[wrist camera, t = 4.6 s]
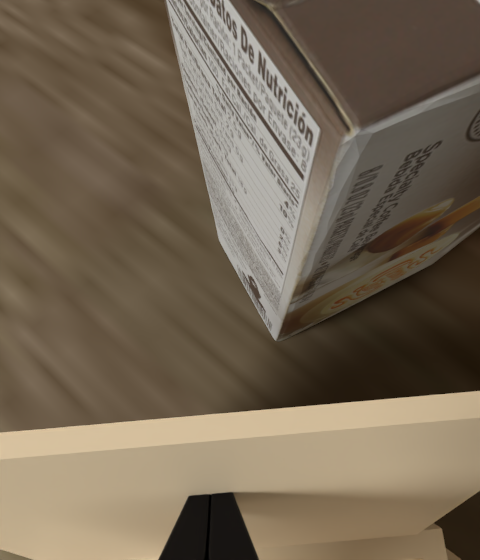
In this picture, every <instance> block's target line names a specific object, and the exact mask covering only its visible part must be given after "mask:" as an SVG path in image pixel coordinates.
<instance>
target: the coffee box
mask: <svg viewBox="0 0 480 560" xmlns="http://www.w3.org/2000/svg"><path fill="white" fill-rule="evenodd" d="M164 2H165V6H166V10H167V15H168V19H169V24H170V28H171V33H172V37H173V42H174V46H175V50H176V54H177V58H178V62H179V66H180V70H181V75H182V79H183V84H184V89H185V92H186V96H187V100H188V105H189V109H190V114H191V118H192V123H193V127H194V131H195V136H196V140H197V144H198V149H199V153H200V158H201V162H202V166H203V171H204V176H205V180H206V185H207V189H208V193H209V197H210V202H211V206H212V210H213V214H214V218H215V223H216V229H217V233H218V238H219V241H220V243H221V245H222V247H223V249H224V251H225V252H226V254H227V256H228V258H229V259H230V261H231V263H232V265H233V267H234V268H235V270H236V272H237V274H238V276H239V278H240V279H241V281H242V283H243V285H244V287H245V288H246V290H247V292H248V294H249V296H250V298H251V299H252V301H253V303H254V305H255V307H256V308H257V310H258V312H259V314H260V315H261V317H262V319H263V321H264V322H265V324H266V326H267V328H268V330H269V331H270V333H271V335H272V337H273V338H274V340H275V341H282V340H285V339H287V338H289V337H291V336H293V335H295V334H297V333H299V332H301V331H303V330H305V329H307V328H309V327H311V326H313V325H315V324H317V323H319V322H321V321H323V320H325V319H327V318H329V317H331V316H333V315H335V314H337V313H339V312H341V311H343V310H345V309H347V308H349V307H351V306H353V305H354V304H356V303H358V302H360V301H362V300H364V299H366V298H368V297H370V296H372V295H374V294H376V293H378V292H380V291H381V290H383V289H385V288H387V287H389V286H391V285H393V284H395V283H397V282H399V281H401V280H403V279H405V278H407V277H408V276H410V275H412V274H414V273H416V272H418V271H420V270H422V269H424V268H426V267H428V266H430V265H432V264H433V263H435V262H436V261H437V260H438V259H440V258H441V257H442V256H443V255H445V254H446V253H447V252H449V251H450V250H451V249H452V248H454V247H455V246H456V245H458V244H459V243H460V242H461V241H463V240H464V239H465V238H467V237H468V236H469V235H471V234H472V233H473V232H474V231H476V230H477V229H478V228H479V227H480V0H164Z"/></svg>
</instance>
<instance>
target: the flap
mask: <svg viewBox="0 0 480 560" xmlns="http://www.w3.org/2000/svg"><path fill="white" fill-rule="evenodd" d="M479 491H480V391H473V392H461V393H450V394H439V395H427V396H416V397H404V398H393V399H381V400H370V401H359V402H347V403H336V404H324V405H313V406H301V407H290V408H279V409H267V410H256V411H244V412H233V413H222V414H210V415H199V416H187V417H176V418H164V419H153V420H142V421H130V422H119V423H107V424H96V425H84V426H73V427H62V428H50V429H39V430H27V431H16V432H4V433H0V549H1V550H5V551H8V552H11V553H14V554H17V555H21V556H24V557H27V558H30V559H33V560H130V559H141V558H153V557H160V555H161V553H162V551H163V548H164V546H165V544H166V542H167V540H168V538H169V536H170V534H171V532H172V529H173V527H174V525H175V523H176V521H177V519H178V517H179V515H180V513H181V511H182V508H183V506H184V504H185V502H186V500H187V498H188V496H191V495H203V494H210V495H211V494H214V493H226V492H233V494H234V496H235V499H236V502H237V504H238V507H239V509H240V512H241V514H242V517H243V519H244V522H245V525H246V527H247V530H248V532H249V535H250V537H251V540H252V542H253V545H254V548H255V549H257V548H268V547H280V546H291V545H303V544H314V543H326V542H337V541H349V540H361V539H372V538H384V537H395V536H407V535H417V534H418V533H420V532H421V531H423V530H424V529H425V528H427V527H428V526H430V525H431V524H433V523H434V522H436V521H437V520H438V519H440V518H441V517H443V516H444V515H446V514H447V513H448V512H450V511H451V510H453V509H454V508H456V507H457V506H459V505H460V504H461V503H463V502H464V501H466V500H467V499H469V498H470V497H471V496H473V495H474V494H476V493H477V492H479Z"/></svg>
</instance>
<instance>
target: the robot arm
mask: <svg viewBox="0 0 480 560" xmlns="http://www.w3.org/2000/svg"><path fill="white" fill-rule="evenodd" d="M158 560H259V558H258V555H257V553H256V550H255V548H254V545H253V542H252V540H251V537H250V535H249V532H248V530H247V527H246V525H245V522H244V519H243V517H242V514H241V512H240V509H239V507H238V504H237V502H236V499H235V496H234V494H233V492H226V493H214V494H211V495H210V494H203V495H191V496H188V498H187V500H186V502H185V504H184V506H183V508H182V511H181V513H180V515H179V517H178V519H177V521H176V523H175V525H174V527H173V529H172V532H171V534H170V536H169V538H168V540H167V542H166V544H165V546H164V548H163V551H162V553H161V555H160V557H159V559H158Z"/></svg>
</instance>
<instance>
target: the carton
mask: <svg viewBox="0 0 480 560" xmlns="http://www.w3.org/2000/svg"><path fill="white" fill-rule="evenodd" d="M255 550H256V553H257V555H258V558H259V560H461V559H460V558H459V557H457V556H456V555H455V554H453V553H452V552H451V551H449V550H448V549H447V548H445V543H444V538H443V533H442V528H440V527H439V526H437V525H436V524H434V523H433V524H431V525H430V526H428V527H427V528H425V529H424V530H423V531H421V532H420V533H418V534H417V535H407V536H395V537H384V538H372V539H361V540H349V541H337V542H326V543H314V544H303V545H291V546H280V547H268V548H257V549H255ZM158 559H159V557H153V558H141V559H130V560H158Z"/></svg>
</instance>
